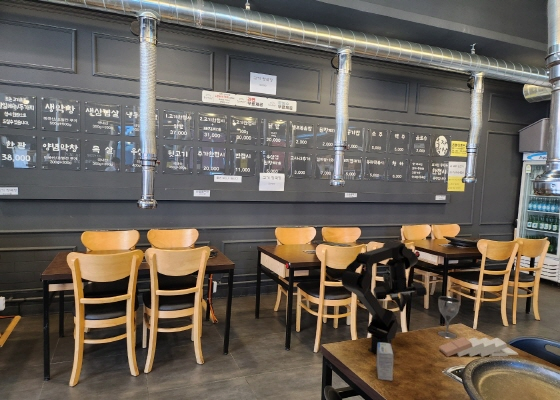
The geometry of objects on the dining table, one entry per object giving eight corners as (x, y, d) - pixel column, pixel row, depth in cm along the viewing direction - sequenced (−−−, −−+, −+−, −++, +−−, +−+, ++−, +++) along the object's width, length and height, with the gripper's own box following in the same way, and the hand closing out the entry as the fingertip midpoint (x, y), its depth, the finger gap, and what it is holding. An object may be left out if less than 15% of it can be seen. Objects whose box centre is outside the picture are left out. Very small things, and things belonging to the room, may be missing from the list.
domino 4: (480, 353, 128) (506, 343, 129) (472, 346, 133) (496, 337, 134) (482, 357, 128) (507, 347, 129) (473, 350, 134) (498, 341, 134)
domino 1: (446, 352, 128) (471, 342, 128) (438, 346, 133) (463, 336, 133) (447, 356, 128) (472, 346, 128) (440, 350, 133) (464, 340, 133)
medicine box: (392, 381, 109) (394, 354, 109) (377, 379, 110) (379, 352, 110) (389, 369, 117) (391, 343, 117) (375, 367, 118) (377, 341, 118)
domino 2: (457, 352, 128) (483, 342, 128) (450, 346, 133) (474, 337, 133) (459, 356, 128) (484, 347, 128) (451, 350, 133) (476, 341, 133)
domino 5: (491, 353, 129) (518, 353, 129) (483, 347, 134) (508, 347, 134) (491, 357, 129) (517, 357, 129) (482, 351, 134) (508, 351, 134)
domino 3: (469, 352, 128) (494, 343, 129) (461, 346, 133) (485, 337, 134) (470, 357, 128) (495, 347, 129) (462, 350, 133) (487, 341, 134)
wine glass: (461, 339, 144) (463, 302, 143) (441, 338, 144) (443, 301, 143) (452, 331, 152) (454, 296, 151) (433, 330, 152) (435, 295, 151)
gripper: (416, 262, 141) (419, 299, 144) (369, 268, 143) (372, 303, 146) (425, 274, 130) (428, 312, 133) (374, 279, 132) (378, 318, 135)
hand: (401, 311), depth 137 cm, fingers closed
